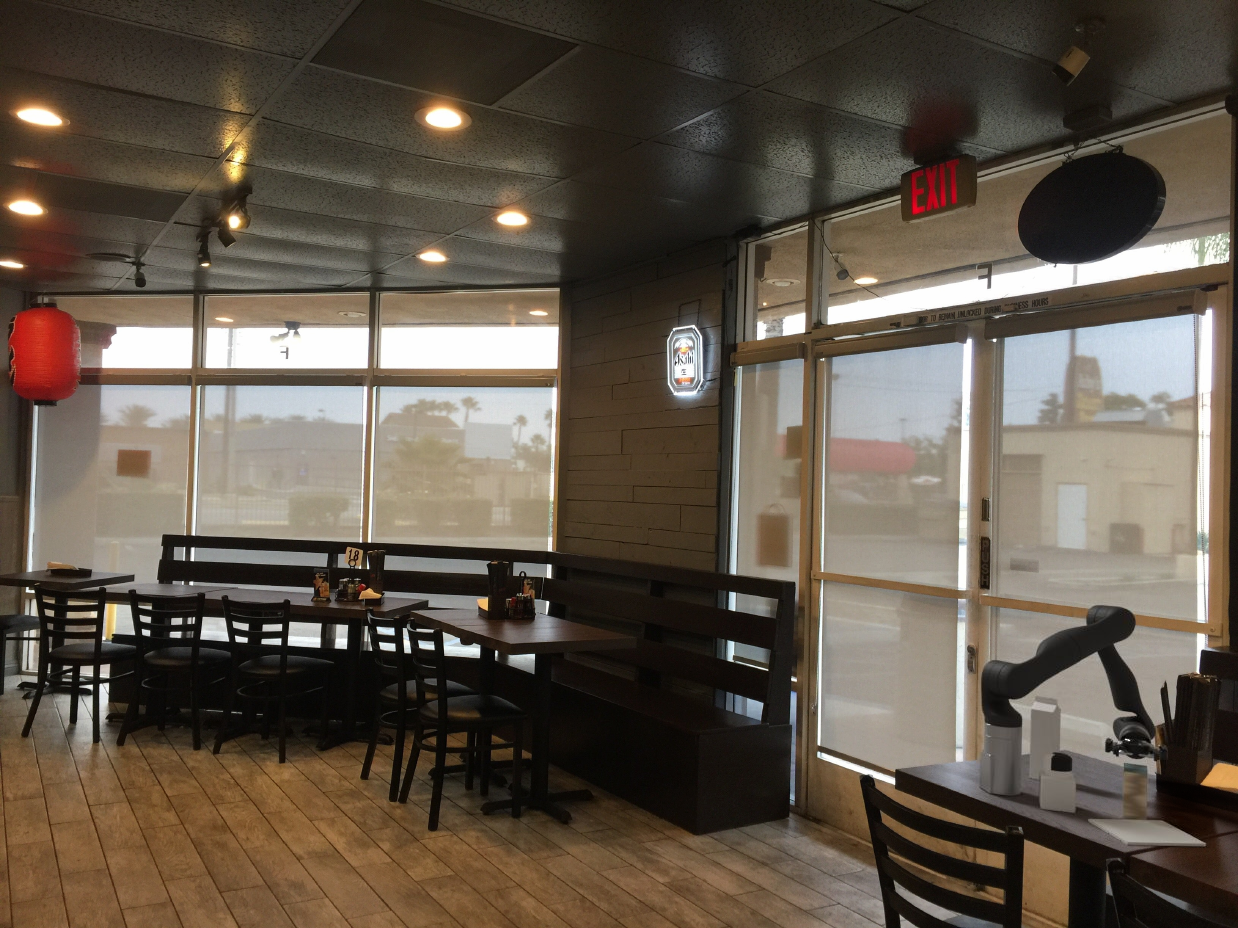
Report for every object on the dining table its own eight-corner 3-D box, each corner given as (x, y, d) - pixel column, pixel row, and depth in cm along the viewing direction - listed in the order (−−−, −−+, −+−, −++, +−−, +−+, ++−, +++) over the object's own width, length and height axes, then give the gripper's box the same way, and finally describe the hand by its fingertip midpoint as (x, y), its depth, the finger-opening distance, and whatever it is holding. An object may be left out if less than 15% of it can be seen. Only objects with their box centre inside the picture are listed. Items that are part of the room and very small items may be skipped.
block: (1123, 817, 240) (1124, 766, 240) (1122, 811, 244) (1123, 762, 244) (1146, 821, 237) (1147, 770, 238) (1145, 815, 242) (1146, 765, 242)
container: (1072, 804, 248) (1073, 752, 249) (1075, 813, 241) (1076, 759, 242) (1038, 800, 251) (1039, 748, 252) (1040, 809, 244) (1042, 755, 244)
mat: (1127, 844, 219) (1127, 841, 219) (1088, 821, 235) (1088, 818, 235) (1205, 846, 220) (1205, 843, 220) (1161, 822, 236) (1161, 820, 236)
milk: (1051, 783, 268) (1053, 700, 269) (1028, 778, 273) (1030, 696, 273) (1059, 778, 273) (1061, 697, 274) (1036, 773, 277) (1038, 694, 278)
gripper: (1105, 723, 269) (1105, 736, 254) (1165, 730, 262) (1168, 743, 248) (1105, 751, 268) (1104, 765, 254) (1165, 759, 262) (1168, 774, 247)
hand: (1136, 754), depth 251 cm, fingers open, 8 cm apart
